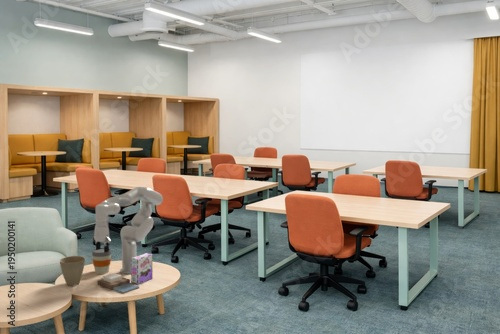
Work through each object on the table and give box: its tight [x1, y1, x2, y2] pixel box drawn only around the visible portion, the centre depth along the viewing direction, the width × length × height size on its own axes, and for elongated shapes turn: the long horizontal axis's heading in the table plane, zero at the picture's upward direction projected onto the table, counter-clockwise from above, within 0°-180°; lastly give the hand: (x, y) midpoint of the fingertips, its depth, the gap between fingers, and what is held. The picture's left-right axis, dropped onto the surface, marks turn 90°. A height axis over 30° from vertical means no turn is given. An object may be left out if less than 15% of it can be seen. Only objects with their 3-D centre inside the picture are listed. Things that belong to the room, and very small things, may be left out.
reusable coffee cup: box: [91, 247, 112, 275], centre depth 311 cm, size 13×13×15 cm
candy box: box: [130, 252, 153, 285], centre depth 294 cm, size 14×6×16 cm, turn 149°
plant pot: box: [59, 255, 86, 287], centre depth 286 cm, size 15×15×16 cm
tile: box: [102, 272, 123, 283], centre depth 287 cm, size 8×8×2 cm
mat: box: [112, 282, 140, 295], centre depth 280 cm, size 12×10×1 cm
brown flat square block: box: [96, 276, 131, 291], centre depth 287 cm, size 14×14×3 cm
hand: (102, 250), depth 292 cm, fingers open, 7 cm apart
